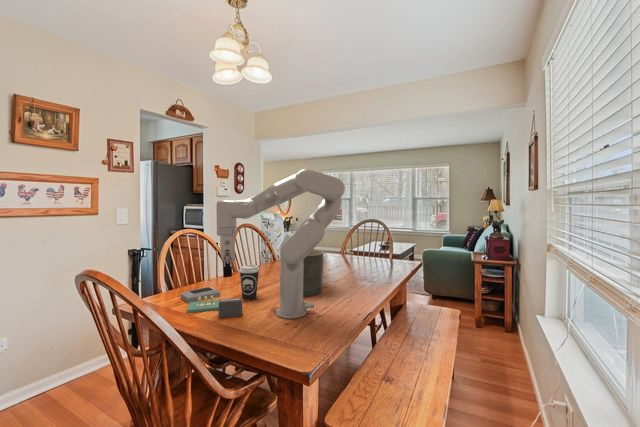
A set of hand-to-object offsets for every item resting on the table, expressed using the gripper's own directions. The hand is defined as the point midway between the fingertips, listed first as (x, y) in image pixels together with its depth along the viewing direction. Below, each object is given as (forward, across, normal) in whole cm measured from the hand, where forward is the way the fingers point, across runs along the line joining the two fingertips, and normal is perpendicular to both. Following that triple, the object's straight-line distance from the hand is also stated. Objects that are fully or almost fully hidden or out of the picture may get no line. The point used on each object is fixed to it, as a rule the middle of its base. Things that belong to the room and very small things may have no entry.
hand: (227, 273), depth 121 cm
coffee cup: (+17, +20, -10) cm, 28 cm away
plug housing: (+17, 0, -1) cm, 17 cm away
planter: (+18, +25, -37) cm, 48 cm away
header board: (+17, +13, +9) cm, 23 cm away
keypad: (+17, +28, +12) cm, 35 cm away
